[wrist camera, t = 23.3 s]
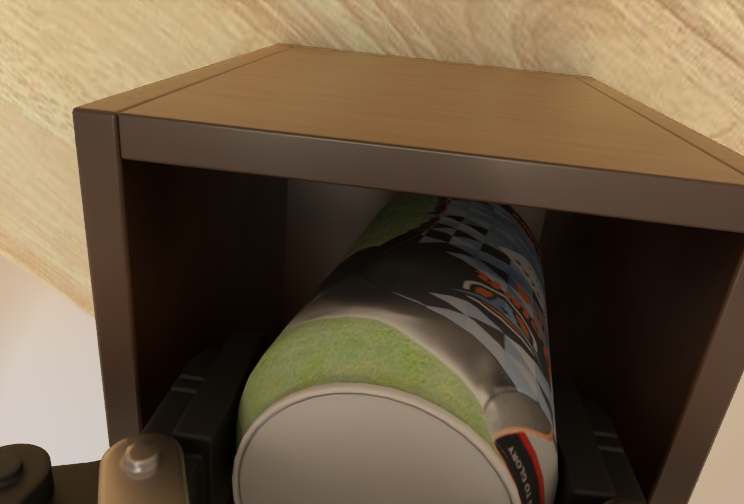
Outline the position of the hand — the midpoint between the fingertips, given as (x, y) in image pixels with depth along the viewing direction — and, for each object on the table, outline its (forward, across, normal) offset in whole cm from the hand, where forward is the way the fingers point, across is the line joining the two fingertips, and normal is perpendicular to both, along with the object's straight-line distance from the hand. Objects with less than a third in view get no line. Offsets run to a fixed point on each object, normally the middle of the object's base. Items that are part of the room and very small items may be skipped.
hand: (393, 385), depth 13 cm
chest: (+13, 0, +1) cm, 13 cm away
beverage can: (+8, -1, 0) cm, 8 cm away
